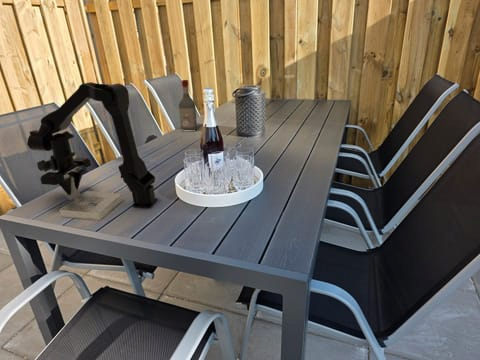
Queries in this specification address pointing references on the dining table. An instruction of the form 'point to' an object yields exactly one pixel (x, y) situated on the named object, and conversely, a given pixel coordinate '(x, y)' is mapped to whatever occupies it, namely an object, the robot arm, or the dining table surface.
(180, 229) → the dining table surface
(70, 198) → the rook chess piece
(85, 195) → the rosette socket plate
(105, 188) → the dining table surface
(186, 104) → the liquor
